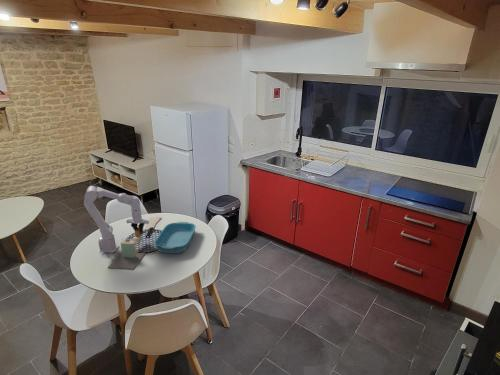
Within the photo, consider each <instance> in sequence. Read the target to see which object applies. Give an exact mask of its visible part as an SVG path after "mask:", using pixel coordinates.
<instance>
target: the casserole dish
mask: <svg viewBox="0 0 500 375" xmlns="http://www.w3.org/2000/svg"><path fill="white" fill-rule="evenodd" d="M195 231H196V225H195V224H194V223H193V222H192V223H190V222H188V221H177V222H171V223H168V224H167V225H165V226H164V228H163V229H162V230H161V232H160V233H159V234H158V236H157V237H156V238H155V241H154V245H155V247H156V249H157V250H158V251H159V252H160V253H164V254H181V253H183V252H185V251H186V250H187V249H188V247H189V246H190V243H191V241H192V239H193V237H194V234H195ZM163 244H164V245H163Z"/></svg>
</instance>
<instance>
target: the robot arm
mask: <svg viewBox="0 0 500 375" xmlns="http://www.w3.org/2000/svg"><path fill="white" fill-rule="evenodd" d="M103 197H105V198H110V199H114V200H116V201H117V202H118V203H122V204H124V205H128V206H130V207H131V209H130V210H131V211H130V212H131V217H132V218H130V219H129V218H128V219H127V220H125V221H126V224H130V226H131V228H132V229H133V231H134V232H135V231H136V229H137V228H138V226H139V229H140V234H142V232H144V226H145V224H146V225H148V223H149V222H150V220H148V219H144V218H143V217H142V210H141V209H142V208H141V202H140V198H139V197H138V196H136V195H129V194H127V193H125V192H122V193H116V192H113V191H111V190H107V189H104V188H102V187H99V186H95V185H89V186H88V187H87V189H86V190H85V193H84V197H83V199H84V200H83V206H84V207H85V209H86V210H87V212H88V214H89V215H90V216H91V218H92V220H94V222H95V224H96V226H97V227H98V228H99V233H101V234H100V235H101V236H100V237H99V238H98V248H99V252H100V253H114V252H115V251H116V250H117V249H118V248H119V247H120V246H119V245H116V238H115V235H114V234H113V230H114V229H113V226H111V225H110V224H109V223H108V222H106V220H105V219H104V217H103V216H102V214H101V213H100V211H99V210H98V208H97V207H96V205H95V203H94V202H95V201H96V200H97V198H98V199H101V198H103ZM142 235H143V234H142Z"/></svg>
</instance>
